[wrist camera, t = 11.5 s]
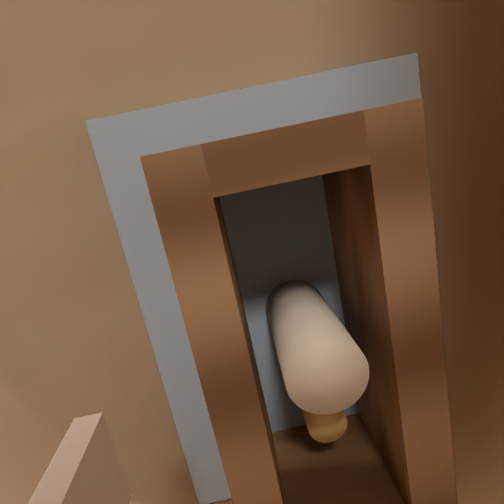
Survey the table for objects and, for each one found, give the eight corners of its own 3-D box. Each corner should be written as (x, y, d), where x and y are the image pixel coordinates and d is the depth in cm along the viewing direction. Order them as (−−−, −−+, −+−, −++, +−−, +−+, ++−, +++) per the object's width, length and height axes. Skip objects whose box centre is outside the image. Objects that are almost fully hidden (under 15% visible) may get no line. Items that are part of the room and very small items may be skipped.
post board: (94, 123, 17) (5, 101, 10) (404, 59, 17) (526, -6, 10) (200, 487, 22) (190, 640, 15) (439, 432, 22) (538, 557, 15)
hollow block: (393, 429, 21) (460, 537, 15) (245, 463, 20) (254, 585, 15) (352, 117, 17) (423, 97, 11) (168, 156, 16) (139, 156, 11)
